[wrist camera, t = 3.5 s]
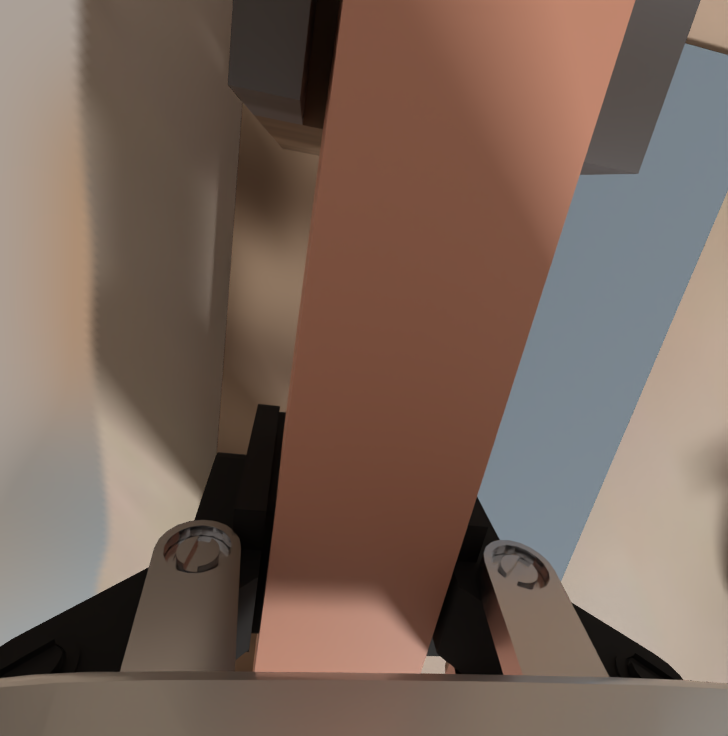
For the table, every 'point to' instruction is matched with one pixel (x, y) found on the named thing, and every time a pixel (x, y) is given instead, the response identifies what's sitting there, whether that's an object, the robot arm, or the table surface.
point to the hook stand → (300, 165)
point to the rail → (419, 305)
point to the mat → (607, 316)
